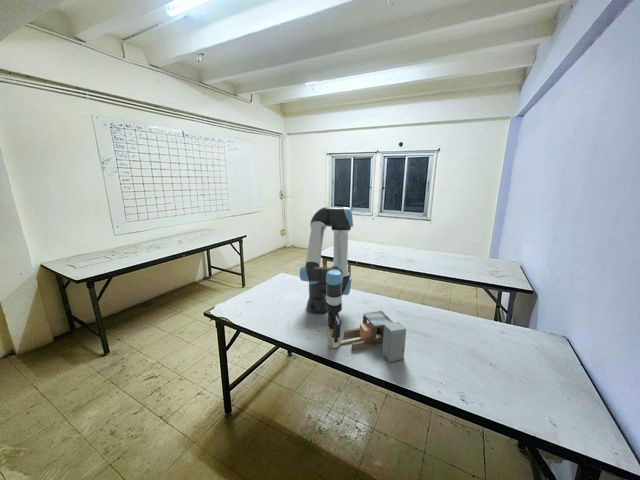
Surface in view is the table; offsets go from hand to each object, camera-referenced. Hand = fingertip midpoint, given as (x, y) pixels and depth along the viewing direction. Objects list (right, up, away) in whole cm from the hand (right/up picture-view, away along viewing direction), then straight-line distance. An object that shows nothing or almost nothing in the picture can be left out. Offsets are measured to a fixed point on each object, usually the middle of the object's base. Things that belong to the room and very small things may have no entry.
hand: (333, 344), depth 126 cm
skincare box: (+27, -2, -8) cm, 29 cm away
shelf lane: (+17, +1, +5) cm, 18 cm away
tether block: (+9, 0, +3) cm, 9 cm away
